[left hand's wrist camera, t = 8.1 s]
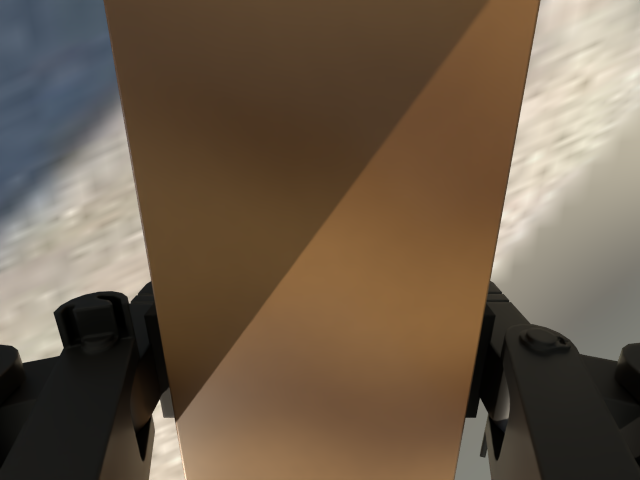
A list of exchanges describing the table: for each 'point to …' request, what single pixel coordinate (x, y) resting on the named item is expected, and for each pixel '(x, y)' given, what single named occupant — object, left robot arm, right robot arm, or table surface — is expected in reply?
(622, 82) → the table surface
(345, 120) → the post
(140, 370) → the left robot arm
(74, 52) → the table surface
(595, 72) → the table surface
